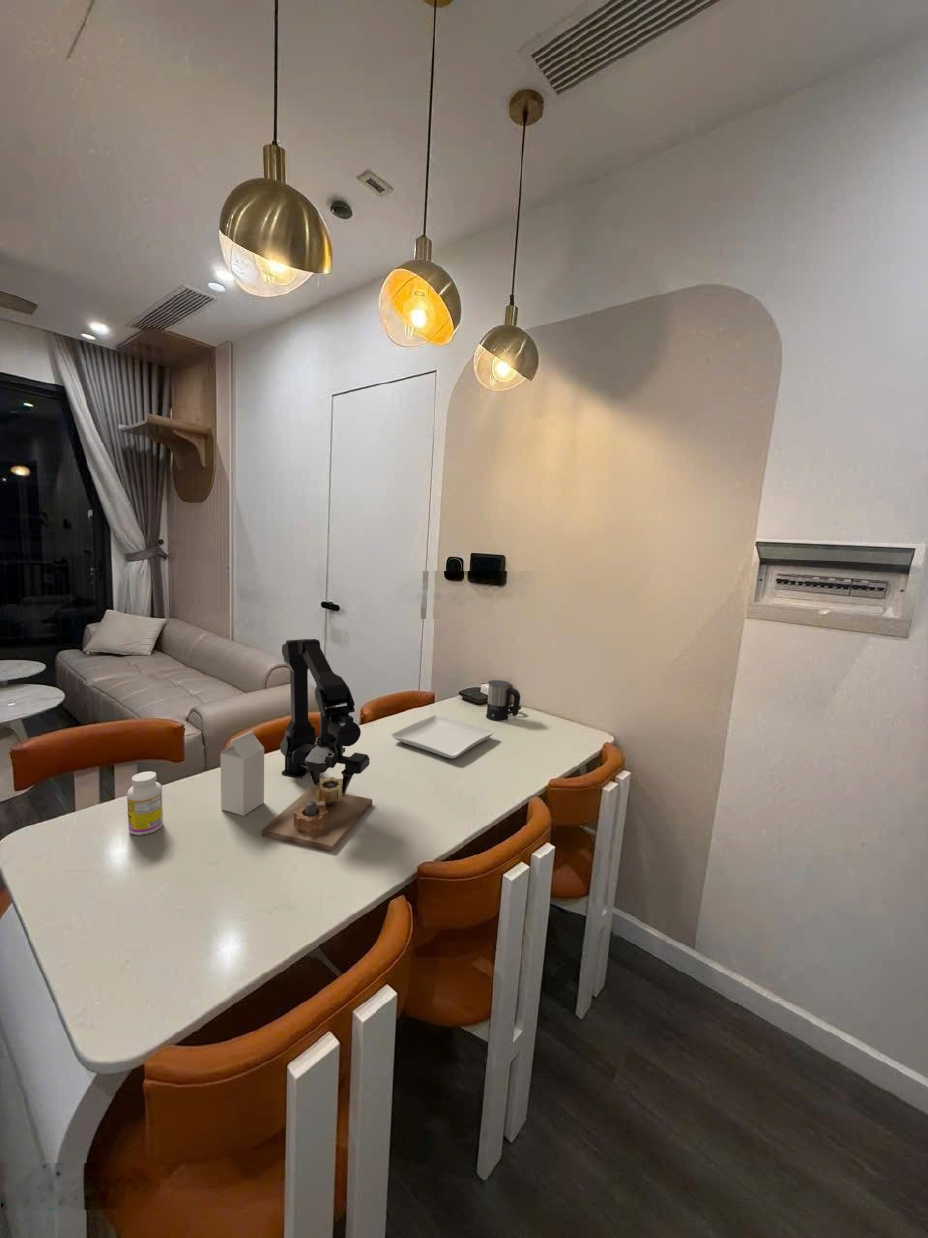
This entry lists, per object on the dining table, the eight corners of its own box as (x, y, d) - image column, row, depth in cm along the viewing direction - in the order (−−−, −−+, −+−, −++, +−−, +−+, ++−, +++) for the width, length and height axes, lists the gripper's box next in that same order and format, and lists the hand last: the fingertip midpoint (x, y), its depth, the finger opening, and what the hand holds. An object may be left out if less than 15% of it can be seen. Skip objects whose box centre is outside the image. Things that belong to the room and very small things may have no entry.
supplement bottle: (132, 822, 112) (130, 770, 110) (165, 818, 115) (164, 767, 113) (125, 839, 106) (122, 784, 104) (159, 834, 109) (158, 781, 107)
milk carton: (264, 803, 124) (264, 733, 121) (243, 817, 117) (243, 743, 114) (242, 796, 126) (242, 728, 123) (220, 810, 120) (220, 737, 117)
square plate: (494, 740, 175) (495, 730, 174) (453, 767, 152) (454, 755, 151) (434, 722, 189) (435, 712, 188) (388, 743, 166) (389, 733, 165)
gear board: (261, 835, 110) (261, 809, 109) (311, 792, 131) (311, 769, 130) (332, 852, 106) (333, 825, 105) (372, 804, 127) (373, 781, 126)
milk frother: (484, 719, 194) (486, 684, 192) (488, 707, 210) (491, 674, 207) (519, 724, 192) (522, 688, 190) (521, 711, 207) (524, 678, 205)
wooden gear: (309, 799, 119) (309, 788, 119) (324, 785, 127) (324, 775, 126) (336, 805, 118) (336, 794, 117) (350, 791, 125) (350, 780, 124)
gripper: (279, 737, 114) (278, 798, 116) (351, 750, 110) (348, 813, 112) (305, 721, 125) (304, 777, 127) (371, 732, 120) (369, 790, 123)
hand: (330, 789), depth 122 cm, fingers closed on wooden gear, 7 cm apart
